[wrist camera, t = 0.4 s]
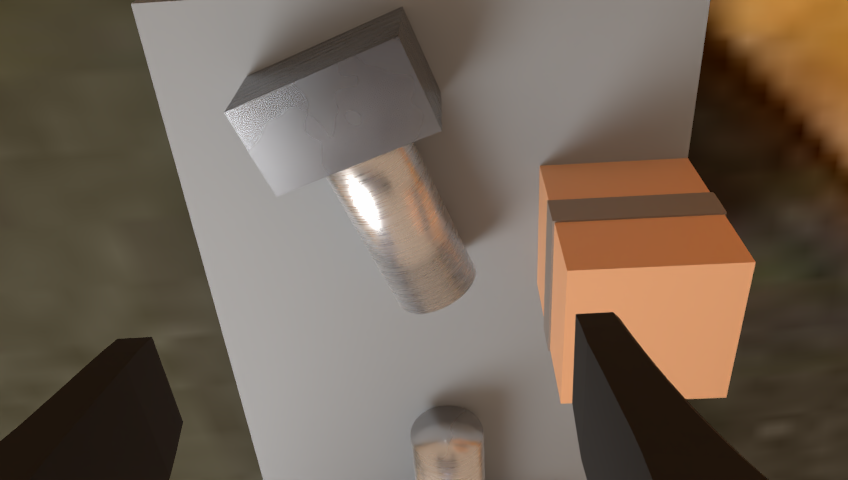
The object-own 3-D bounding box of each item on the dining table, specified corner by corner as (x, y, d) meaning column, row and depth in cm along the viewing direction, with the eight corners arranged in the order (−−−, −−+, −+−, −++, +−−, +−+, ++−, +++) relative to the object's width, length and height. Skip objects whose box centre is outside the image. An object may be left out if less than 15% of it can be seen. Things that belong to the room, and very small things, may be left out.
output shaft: (503, 218, 22) (512, 285, 19) (372, 265, 23) (363, 335, 20) (403, -5, 19) (398, 36, 16) (254, 62, 20) (223, 112, 17)
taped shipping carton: (671, 278, 22) (728, 399, 18) (535, 285, 22) (558, 405, 18) (690, 156, 20) (758, 260, 16) (537, 164, 20) (564, 269, 16)
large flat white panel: (627, 521, 30) (632, 543, 29) (287, 531, 30) (283, 553, 30) (701, -44, 18) (715, -35, 17) (144, -7, 19) (130, 3, 18)
